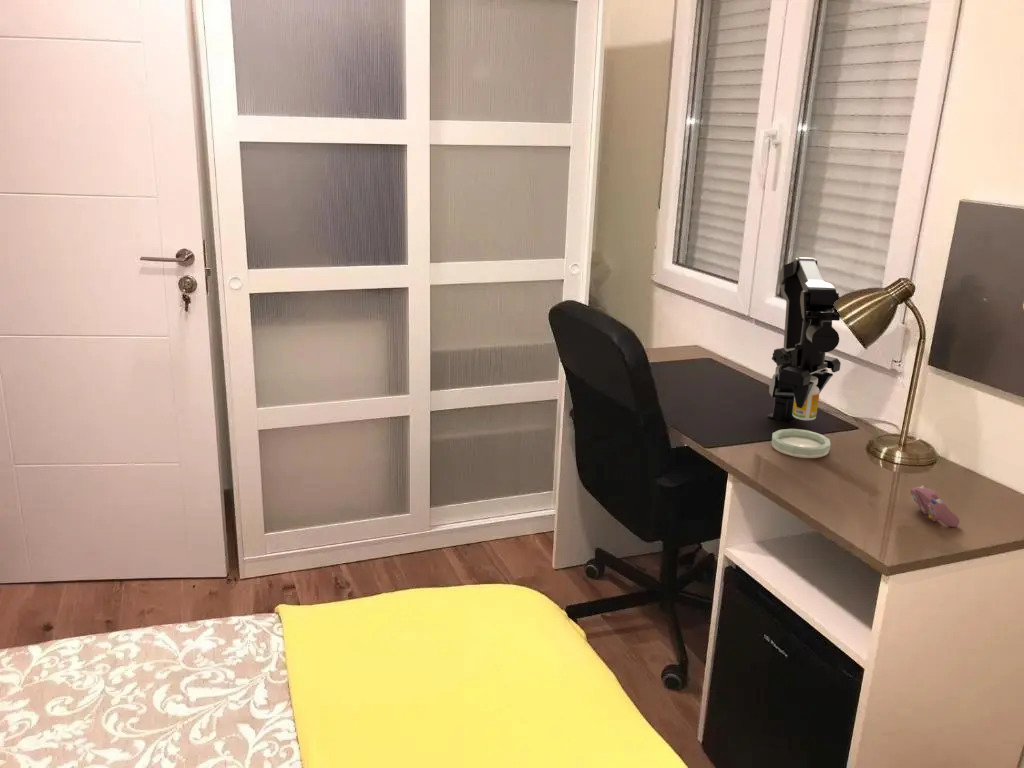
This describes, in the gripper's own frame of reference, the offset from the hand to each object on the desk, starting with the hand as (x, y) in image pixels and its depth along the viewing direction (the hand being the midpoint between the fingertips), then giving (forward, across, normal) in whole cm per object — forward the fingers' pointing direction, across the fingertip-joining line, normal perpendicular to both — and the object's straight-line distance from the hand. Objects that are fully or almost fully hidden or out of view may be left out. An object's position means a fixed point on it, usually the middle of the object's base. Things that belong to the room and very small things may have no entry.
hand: (805, 404), depth 193 cm
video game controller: (+11, +14, +36) cm, 40 cm away
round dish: (+11, 0, 0) cm, 11 cm away
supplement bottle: (+3, 0, 0) cm, 3 cm away
